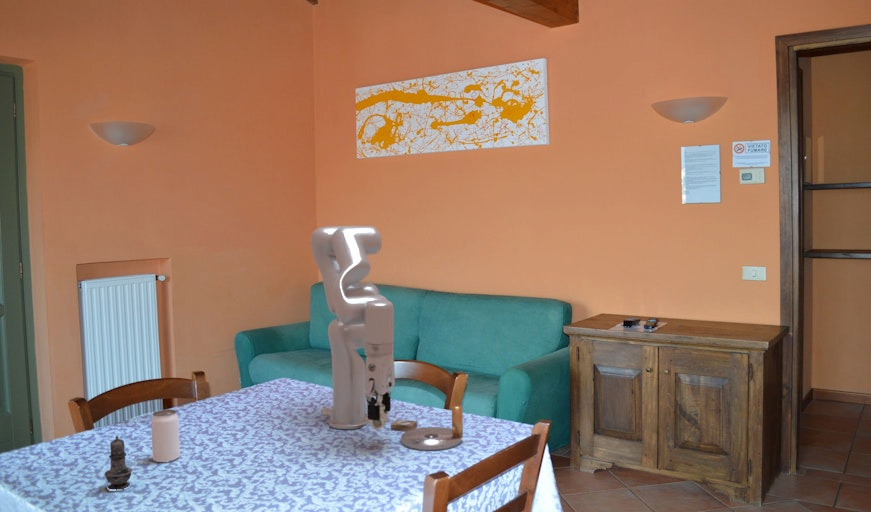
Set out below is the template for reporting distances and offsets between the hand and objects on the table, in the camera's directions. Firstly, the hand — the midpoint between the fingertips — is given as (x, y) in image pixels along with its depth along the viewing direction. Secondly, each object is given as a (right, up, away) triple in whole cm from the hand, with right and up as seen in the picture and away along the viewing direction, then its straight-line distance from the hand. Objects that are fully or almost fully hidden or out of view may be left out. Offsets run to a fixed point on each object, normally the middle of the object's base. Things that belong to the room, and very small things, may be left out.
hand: (379, 414), depth 187 cm
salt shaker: (-58, -12, -23) cm, 63 cm away
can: (-54, -11, -4) cm, 55 cm away
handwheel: (+14, -8, +4) cm, 16 cm away
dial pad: (+6, -8, +15) cm, 18 cm away
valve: (0, -4, 0) cm, 4 cm away
